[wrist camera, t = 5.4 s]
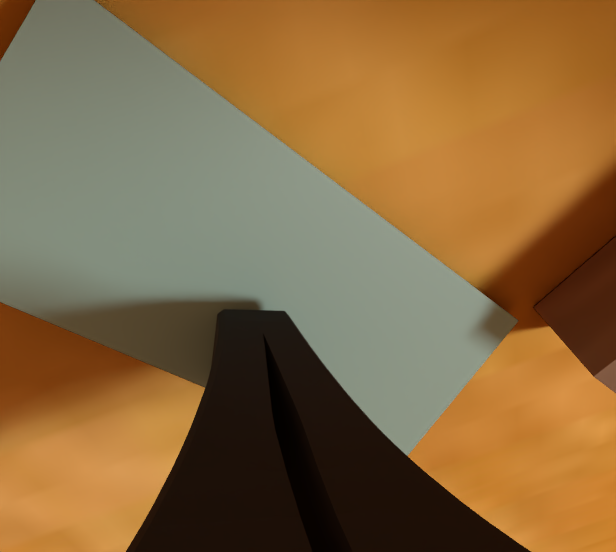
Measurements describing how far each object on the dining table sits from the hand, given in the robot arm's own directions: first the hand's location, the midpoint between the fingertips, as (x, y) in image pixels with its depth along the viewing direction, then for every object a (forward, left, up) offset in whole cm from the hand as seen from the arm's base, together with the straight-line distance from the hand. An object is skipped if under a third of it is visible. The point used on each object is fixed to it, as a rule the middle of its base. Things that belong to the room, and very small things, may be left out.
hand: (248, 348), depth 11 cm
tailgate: (0, -4, -1) cm, 4 cm away
